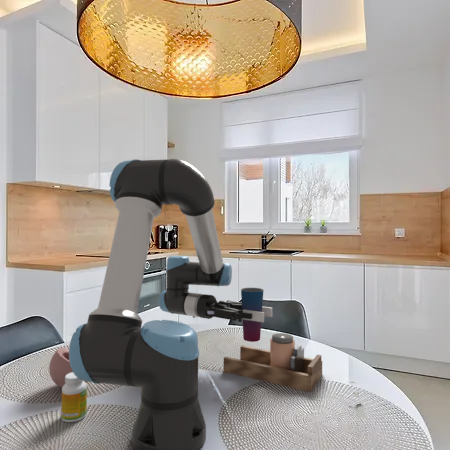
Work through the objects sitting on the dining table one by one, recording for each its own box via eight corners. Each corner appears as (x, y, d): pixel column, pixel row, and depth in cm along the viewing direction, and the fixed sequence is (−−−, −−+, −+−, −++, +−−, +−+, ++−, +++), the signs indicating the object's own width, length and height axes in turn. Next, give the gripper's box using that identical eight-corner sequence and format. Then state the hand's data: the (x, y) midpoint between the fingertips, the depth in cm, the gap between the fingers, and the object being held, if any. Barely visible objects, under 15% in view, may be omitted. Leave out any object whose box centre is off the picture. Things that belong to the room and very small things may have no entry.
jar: (298, 378, 101) (299, 339, 100) (276, 381, 99) (276, 341, 99) (287, 369, 107) (288, 331, 107) (266, 371, 105) (266, 333, 105)
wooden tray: (223, 374, 105) (223, 351, 105) (241, 360, 116) (242, 339, 116) (310, 395, 93) (311, 368, 93) (322, 377, 104) (322, 353, 104)
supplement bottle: (83, 422, 80) (84, 379, 80) (58, 424, 79) (58, 380, 79) (88, 409, 85) (89, 369, 85) (65, 411, 84) (65, 370, 84)
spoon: (360, 387, 98) (360, 381, 98) (375, 429, 78) (375, 422, 78) (344, 386, 99) (344, 380, 99) (355, 427, 79) (355, 420, 79)
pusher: (290, 383, 97) (290, 351, 97) (300, 371, 105) (300, 342, 105) (294, 384, 96) (294, 352, 96) (303, 371, 105) (304, 342, 104)
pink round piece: (99, 391, 94) (99, 348, 94) (48, 401, 88) (49, 355, 88) (94, 374, 105) (94, 335, 105) (49, 382, 99) (49, 341, 99)
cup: (253, 344, 103) (254, 292, 103) (235, 339, 107) (236, 289, 107) (267, 339, 108) (268, 289, 108) (249, 334, 112) (250, 286, 112)
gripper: (215, 311, 124) (278, 320, 113) (184, 324, 108) (255, 336, 97) (216, 289, 124) (279, 296, 113) (185, 299, 108) (255, 308, 97)
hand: (267, 314), depth 105 cm, fingers closed on cup, 6 cm apart
